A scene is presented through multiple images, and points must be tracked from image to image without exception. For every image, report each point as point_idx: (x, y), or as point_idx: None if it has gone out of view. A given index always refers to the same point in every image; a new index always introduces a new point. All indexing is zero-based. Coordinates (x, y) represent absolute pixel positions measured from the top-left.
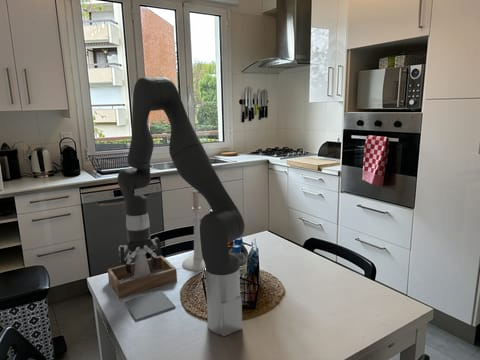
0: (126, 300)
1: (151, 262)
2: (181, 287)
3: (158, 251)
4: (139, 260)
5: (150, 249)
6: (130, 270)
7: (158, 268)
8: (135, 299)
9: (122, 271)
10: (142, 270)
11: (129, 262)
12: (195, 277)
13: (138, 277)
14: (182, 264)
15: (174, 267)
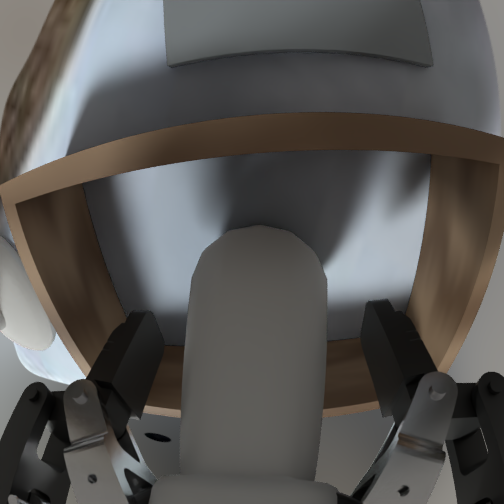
0: (424, 63)
1: (155, 368)
2: (59, 84)
3: (32, 417)
4: (290, 408)
5: (78, 498)
6: (386, 319)
7: None
8: (373, 32)
9: (359, 377)
10: (264, 288)
11: (424, 393)
12: (2, 176)
13: (305, 256)
14: (49, 320)
15: (7, 215)
